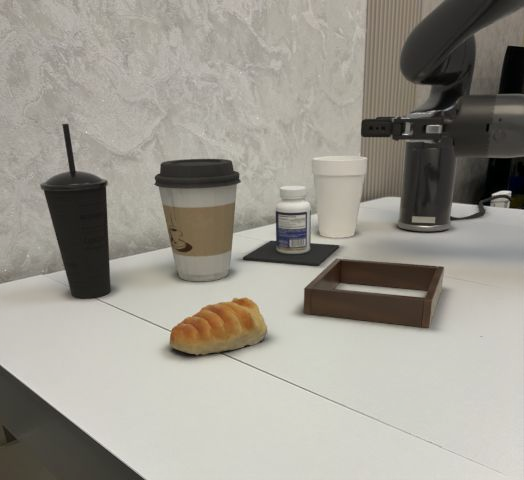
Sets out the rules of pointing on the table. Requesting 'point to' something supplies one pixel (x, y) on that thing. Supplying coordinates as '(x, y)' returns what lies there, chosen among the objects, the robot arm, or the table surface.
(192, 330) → the pastry
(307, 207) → the pill bottle
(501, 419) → the table surface
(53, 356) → the table surface
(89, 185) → the drinking cup
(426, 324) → the tray
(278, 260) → the mat
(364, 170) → the foam cup
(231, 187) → the coffee cup
